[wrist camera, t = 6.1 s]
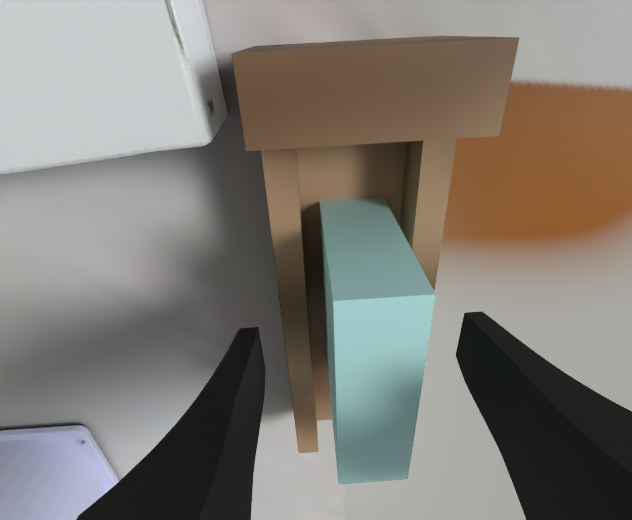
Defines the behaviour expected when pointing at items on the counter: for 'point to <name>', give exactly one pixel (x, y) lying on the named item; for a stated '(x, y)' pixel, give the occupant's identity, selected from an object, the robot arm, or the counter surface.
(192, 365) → the counter surface
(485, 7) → the counter surface
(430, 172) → the track
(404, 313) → the door panel
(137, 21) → the skincare box
